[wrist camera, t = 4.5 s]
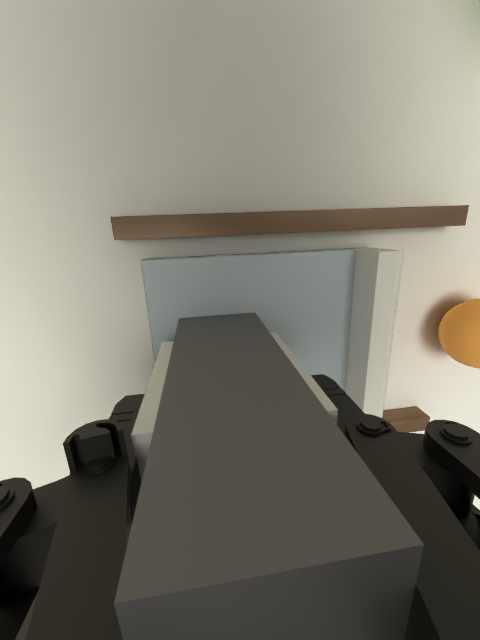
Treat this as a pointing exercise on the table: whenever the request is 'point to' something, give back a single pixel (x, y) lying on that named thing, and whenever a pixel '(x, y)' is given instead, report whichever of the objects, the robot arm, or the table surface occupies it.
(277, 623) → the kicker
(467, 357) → the ball
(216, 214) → the rails
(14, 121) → the table surface
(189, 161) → the table surface
